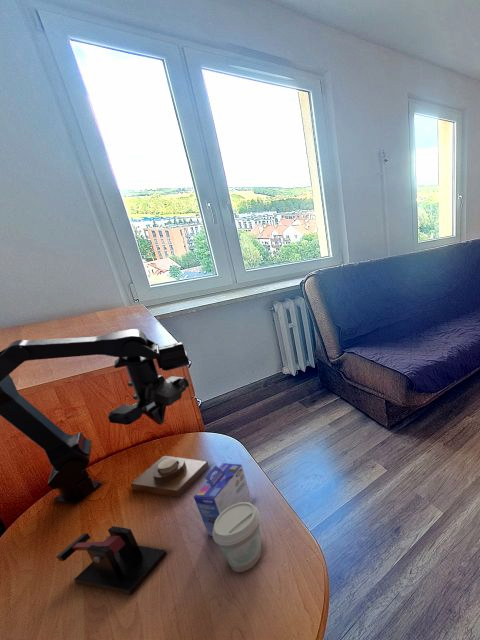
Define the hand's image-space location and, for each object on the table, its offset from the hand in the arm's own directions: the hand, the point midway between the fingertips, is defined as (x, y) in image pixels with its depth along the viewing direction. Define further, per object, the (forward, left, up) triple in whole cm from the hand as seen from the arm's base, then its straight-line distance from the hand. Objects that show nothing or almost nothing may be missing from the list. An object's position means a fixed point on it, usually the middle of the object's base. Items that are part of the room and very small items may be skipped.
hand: (160, 423), depth 94 cm
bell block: (+7, -7, -12) cm, 15 cm away
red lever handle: (+12, -29, -7) cm, 32 cm away
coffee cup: (+41, -23, -12) cm, 48 cm away
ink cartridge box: (+31, -15, -12) cm, 36 cm away
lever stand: (+17, -29, -12) cm, 35 cm away
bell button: (+7, -7, -8) cm, 13 cm away
